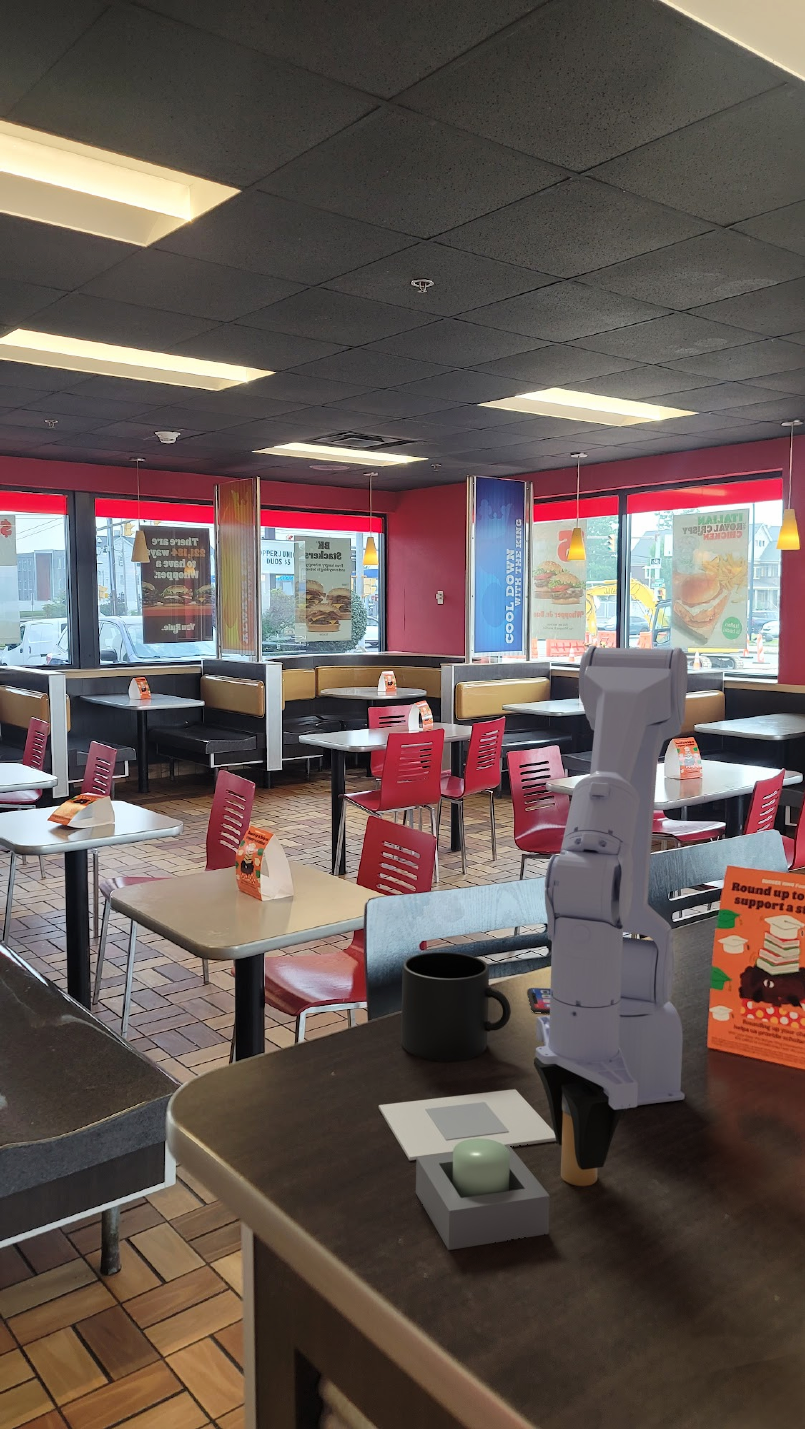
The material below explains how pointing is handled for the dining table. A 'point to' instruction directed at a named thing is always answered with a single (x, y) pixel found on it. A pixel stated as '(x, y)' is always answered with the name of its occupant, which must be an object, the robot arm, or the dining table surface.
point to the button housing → (481, 1204)
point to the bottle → (572, 1154)
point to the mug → (447, 1006)
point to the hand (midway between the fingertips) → (579, 1154)
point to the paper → (464, 1122)
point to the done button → (480, 1167)
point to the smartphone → (539, 999)
